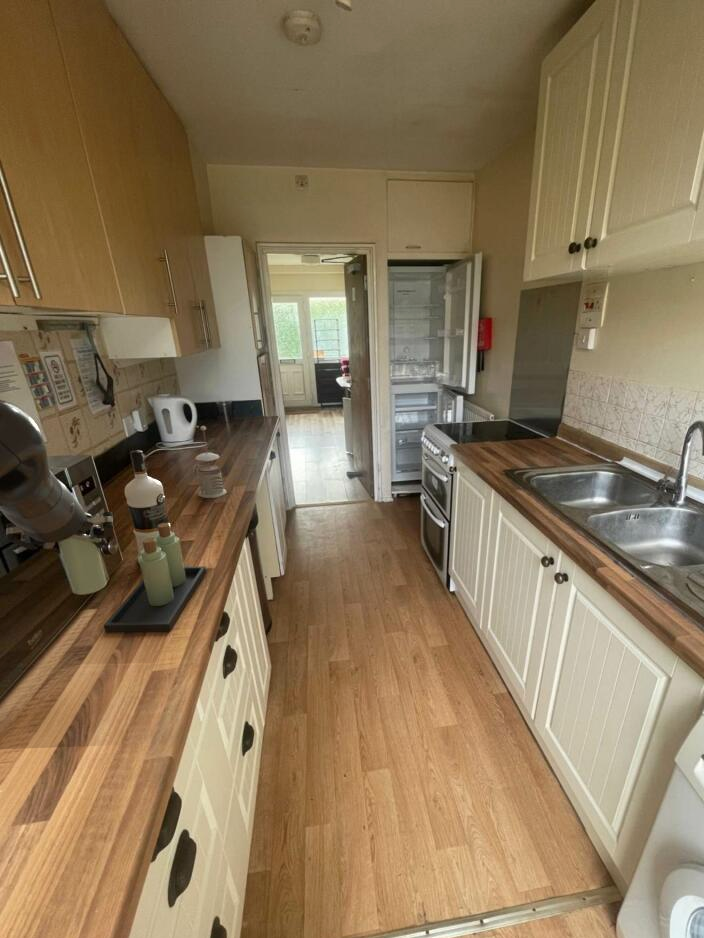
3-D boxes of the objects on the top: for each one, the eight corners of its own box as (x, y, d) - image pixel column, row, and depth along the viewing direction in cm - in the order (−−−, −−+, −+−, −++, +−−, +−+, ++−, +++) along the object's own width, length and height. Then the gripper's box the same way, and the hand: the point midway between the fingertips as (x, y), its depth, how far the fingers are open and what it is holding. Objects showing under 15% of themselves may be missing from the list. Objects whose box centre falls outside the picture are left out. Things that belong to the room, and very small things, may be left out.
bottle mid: (144, 606, 94) (129, 545, 88) (154, 592, 98) (141, 534, 92) (168, 605, 94) (156, 545, 88) (177, 592, 99) (166, 534, 93)
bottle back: (158, 587, 100) (146, 529, 95) (167, 575, 105) (156, 520, 99) (181, 586, 101) (170, 529, 95) (189, 575, 106) (179, 520, 100)
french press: (232, 491, 161) (224, 425, 151) (208, 501, 151) (198, 431, 141) (212, 486, 165) (203, 422, 155) (188, 496, 155) (176, 428, 145)
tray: (106, 635, 86) (103, 625, 85) (154, 575, 106) (153, 566, 105) (170, 633, 86) (168, 624, 86) (206, 574, 107) (205, 566, 106)
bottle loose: (65, 594, 73) (39, 514, 67) (83, 578, 77) (61, 501, 71) (96, 594, 73) (74, 514, 67) (112, 578, 78) (93, 502, 72)
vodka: (157, 551, 118) (134, 444, 106) (186, 556, 115) (166, 447, 104) (130, 567, 109) (103, 453, 97) (161, 573, 107) (137, 457, 95)
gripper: (101, 477, 63) (127, 520, 78) (-22, 488, 58) (30, 531, 72) (104, 524, 61) (130, 559, 75) (-25, 540, 55) (30, 574, 70)
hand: (81, 545), depth 74 cm, fingers closed on bottle loose, 5 cm apart
